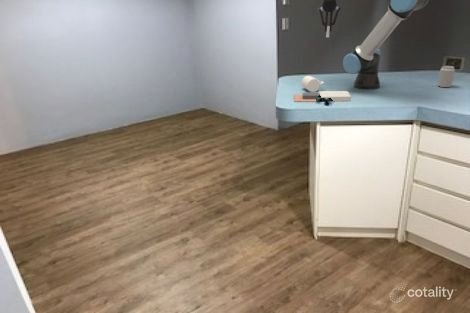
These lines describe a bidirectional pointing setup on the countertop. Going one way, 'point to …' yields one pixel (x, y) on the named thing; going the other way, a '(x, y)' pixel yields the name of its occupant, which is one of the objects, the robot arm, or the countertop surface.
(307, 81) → the mug
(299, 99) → the mat
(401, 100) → the countertop surface
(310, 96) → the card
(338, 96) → the deck
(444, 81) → the can
